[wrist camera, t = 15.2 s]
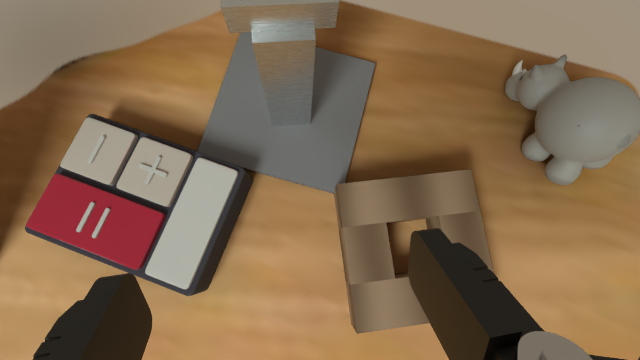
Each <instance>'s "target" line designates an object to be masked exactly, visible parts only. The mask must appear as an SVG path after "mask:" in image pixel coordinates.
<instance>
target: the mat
mask: <svg viewBox="0 0 640 360" xmlns="http://www.w3.org/2000/svg"><path fill="white" fill-rule="evenodd" d="M375 64H376V63H373V62H370V61H366V60H362V59H359V58H355V57H351V56H348V55H344V54H340V53H337V52H333V51H329V50H326V49H322V48H318V47H315V60H314V76H313V91H312V106H311V122H310V124H304V125H290V126H277V127H273V125H272V121H271V117H270V113H269V109H268V105H267V101H266V97H265V93H264V89H263V85H262V81H261V77H260V73H259V69H258V65H257V61H256V57H255V53H254V49H253V45H252V35H251V32H242V33H240V36H239V38H238V41H237V44H236V47H235V49H234V52H233V55H232V58H231V60H230V63H229V66H228V69H227V71H226V74H225V77H224V80H223V82H222V85H221V88H220V91H219V93H218V96H217V99H216V102H215V104H214V107H213V110H212V113H211V115H210V118H209V121H208V124H207V126H206V129H205V132H204V134H203V137H202V140H201V143H200V145H199V148H198V152H200V153H203V154H206V155H209V156H212V157H214V158H217V159H220V160H223V161H225V162H228V163H231V164H234V165H236V166H239V167H242V168H244V169H246V170H250V171H253V172H257V173H261V174H264V175H268V176H272V177H275V178H279V179H283V180H286V181H290V182H294V183H297V184H301V185H305V186H308V187H312V188H316V189H319V190H323V191H327V192H330V193H335V190H334V189H335V187H336V185H337V184H343V183H345V181H346V177H347V173H348V169H349V165H350V161H351V157H352V153H353V149H354V145H355V142H356V138H357V134H358V130H359V126H360V122H361V118H362V114H363V110H364V107H365V103H366V99H367V95H368V91H369V87H370V83H371V79H372V75H373V71H374V68H375Z"/></svg>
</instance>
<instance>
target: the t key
mask: <svg viewBox="0 0 640 360" xmlns="http://www.w3.org/2000/svg"><path fill="white" fill-rule="evenodd" d="M338 7H339V0H221V9H222V12H223V15H224V18H225V21H226V24H227V27H228V29H229V32H230V33H242V32H251V35H252V45H253V49H254V53H255V57H256V61H257V65H258V69H259V73H260V77H261V81H262V85H263V89H264V93H265V97H266V101H267V105H268V109H269V113H270V117H271V121H272V125H273V127H277V126H290V125H304V124H310V122H311V106H312V91H313V76H314V60H315V45H316V37H315V29H319V28H335V27H336V20H337V14H338Z"/></svg>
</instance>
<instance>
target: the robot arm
mask: <svg viewBox="0 0 640 360" xmlns="http://www.w3.org/2000/svg"><path fill="white" fill-rule="evenodd" d="M408 276H409V281H410V284H411V287H412V290H413V292H414V294H415V296H416V297H417V299H418V301H419V303H420V305H421V307H422V309H423V311H424V313H425V314H426V316H427V318H428V320H429V322H430V324H431V326H432V328H433V330H434V332H435V333H436V335H437V337H438V339H439V341H440V343H441V345H442V347H443V349H444V350H445V352H446V354H447V356H448V358H449V360H625V359H617V358H609V357H602V356H594V355H589V354H587V353H586V352H585V351H584V350H583V349H582V348H580V347H579V346H578V345H576V344H575V343H573V342H571V341H570V340H568V339H566V338H564V337H562V336H559V335H557V334H554V333H550V332H545V331H544V330H543V329H542V328H541V327H540V326H539V325H538V324H537V323H536V321H535V320H534V319H533V318H532V317H531V316H530V314H529V313H528V312H527V311H526V310H525V309H524V308H523V306H522V305H521V304H520V303H519V302H518V301H517V300H516V298H515V297H514V296H513V295H512V294H511V293H510V291H509V290H508V289H507V288H506V287H505V286H504V285H503V283H502V282H501V281H498V278H497V277H496V275H495V274H494V273H493V272H492V271H491V270H490V269H488V266H487V265H486V264H485V263H484V262H483V260H482V259H481V258H480V257H479V256H478V255H477V253H475V252H474V251H472V250H471V249H469V248H467V247H466V246H464V245H463V244H461V243H460V242H458V243H451V241H450V240H449V239H448V238H447V236H446V235H445V234H444V233H443V231H442V230H441V229H439V228H433V229H427V230H420V231H414V232H413V233H412V235H411V242H410V253H409V265H408ZM151 329H152V315H151V311H150V308H149V306H148V304H147V302H146V300H145V297H144V295H143V293H142V291H141V289H140V286H139V284H138V282H137V280H136V278H135V276H134V275H133V274H131V273H127V274H121V275H114V276H107V277H101V278H99V279H97V280H96V281H95V283H94V284H93V286H92V287H91V289H90V291H89V292H88V294H87V296H86V297H85V299H84V300H80V301H77V302H76V303H75V304H74V305H73V306H71V307H70V308H69V309H68V310H67V311H66V312H65V313H64V314H63V315H62V316H61V317H59V318H58V320H57V321H56V323H55V324H54V326H53V327H52V329H51V330H50V332H49V333H48V335H47V336H46V338H45V342H43V343H42V344H41V345H40V347H39V348H38V350H37V351H36V353H35V354H34V359H33V360H141V359H142V356H143V354H144V351H145V348H146V345H147V342H148V339H149V337H150V333H151ZM638 360H640V357H639V359H638Z"/></svg>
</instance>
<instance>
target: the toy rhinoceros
mask: <svg viewBox="0 0 640 360" xmlns="http://www.w3.org/2000/svg"><path fill="white" fill-rule="evenodd" d="M566 59H567V56H566V55H563V56H561V57H560V58H559V59H558V60H557V61H556V62H555V63H553V64H548V65H541V66H539V65H534V67H533V69H530V70H529V71H528V72H527V70H526V69H524V70H522V62H523V60H521V61H520V62H519V63H517V65H516V66H515V68H514V70H513V73H512V76H511V77H510V78H508V79H507V82H506V85H505V93H506V95H507V96H508V97H509V98H510V99H511V100H514V101H519V102H520V103H521V104H522V105H523V106H524V107H525V108H527V109H529V110H535V111H536V112H537V114H536V118H535V133H533V134H532V135H530V136H529V137H528V138H527V139H526V140H525V141H524V142H523V144H522V147H521V151H522V154H523V155H524V156H525V157H526V158H528V159H530V160H533V161H544V160H546V159H547V158H548V157H549V156H550V155H551V154H552V155H554V158H553V159H551V160H550V161H549V162H548V164H547V165H546V167H545V176H546V177H547V178H548V179H549V180H550V181H552V182H554V183H556V184H560V185H569V184H571V183H573V182H574V181H575V180H576V179H577V178H578V177H579V175H580V173H581V171H582V168H583V167H584V168H588V169H599V168H602V167H604V166H605V165H607V164H608V163H609V162H610V161H611V159H612V158H613V156H615V155H617V154H619V153H620V152H622V151H623V150H625V149H626V148H627V147H628V146H630V145H631V144H632V143H633V141H634V140H635V139H636V138H637V136H638V135H639V133H640V98H639V97H638V95H637V94H636V93H635V92H634V91H633V90H632V89H631V88H630V87H628V86H627V85H625V84H623V83H621V82H619V81H616V80H613V79H609V78H603V77H589V78H583V79H579V80H575V81H570V80H569V77H568V75H567V73H566V72H565V71H564V65H565V63H566Z"/></svg>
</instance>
